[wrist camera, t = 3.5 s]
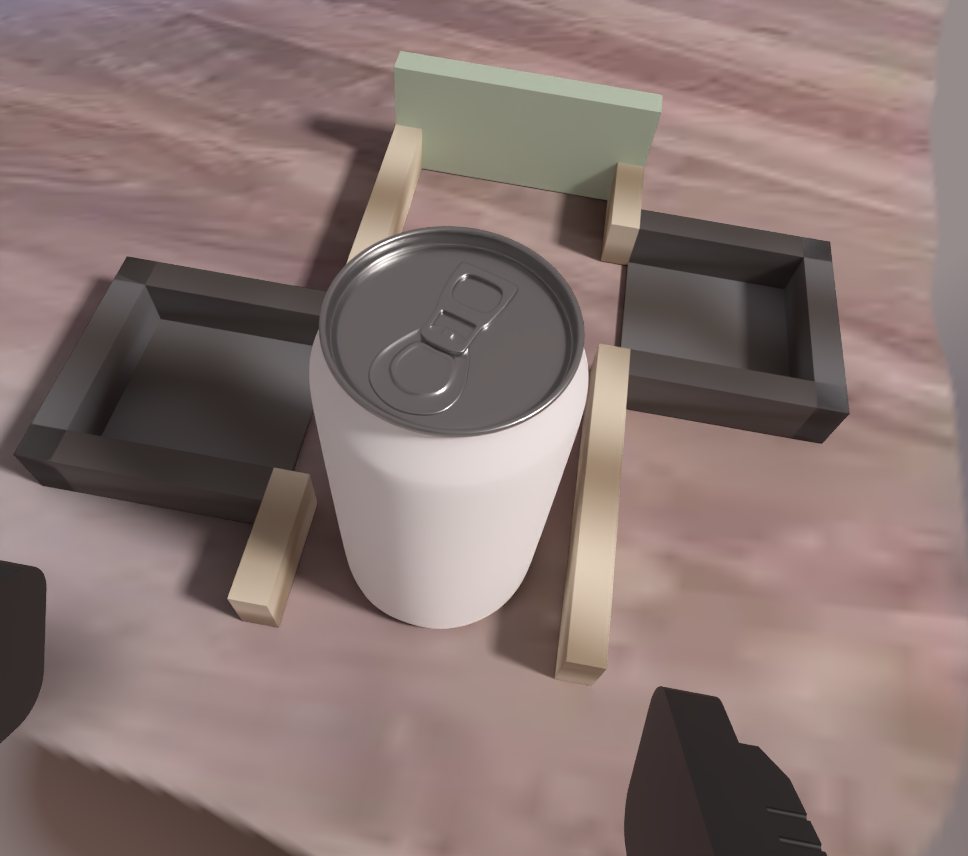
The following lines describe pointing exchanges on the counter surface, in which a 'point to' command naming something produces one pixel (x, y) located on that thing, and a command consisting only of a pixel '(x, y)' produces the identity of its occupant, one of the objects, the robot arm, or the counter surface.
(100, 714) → the counter surface
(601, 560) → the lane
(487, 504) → the can
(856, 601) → the counter surface
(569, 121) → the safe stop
